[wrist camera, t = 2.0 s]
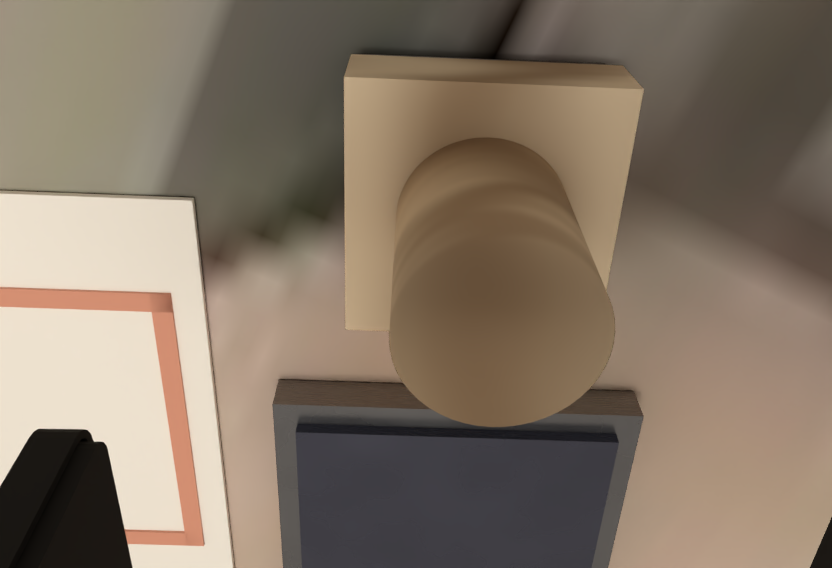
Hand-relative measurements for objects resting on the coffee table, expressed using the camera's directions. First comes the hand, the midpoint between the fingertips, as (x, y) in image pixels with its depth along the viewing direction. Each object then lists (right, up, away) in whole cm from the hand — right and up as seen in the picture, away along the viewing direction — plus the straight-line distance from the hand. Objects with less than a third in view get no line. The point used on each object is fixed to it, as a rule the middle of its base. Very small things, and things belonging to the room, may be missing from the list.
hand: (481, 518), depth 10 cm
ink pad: (0, -4, +17) cm, 17 cm away
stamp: (+1, +6, +11) cm, 12 cm away
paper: (-13, -1, +15) cm, 20 cm away
